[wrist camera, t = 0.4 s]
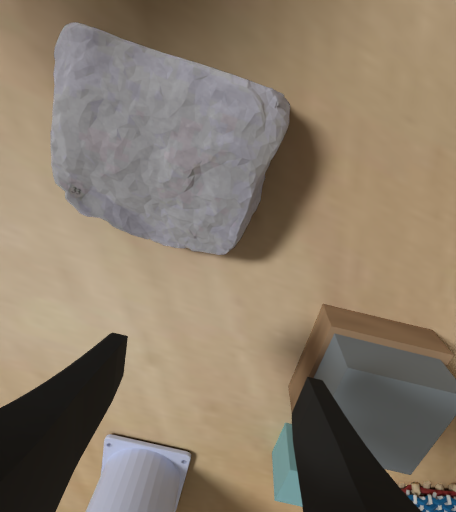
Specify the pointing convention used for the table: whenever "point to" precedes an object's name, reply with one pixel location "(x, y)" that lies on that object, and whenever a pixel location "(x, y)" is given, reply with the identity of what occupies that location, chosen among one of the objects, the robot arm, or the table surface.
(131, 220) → the stone block
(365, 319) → the tower base
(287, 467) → the teal cube
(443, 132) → the table surface
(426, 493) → the woven mat
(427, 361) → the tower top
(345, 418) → the robot arm
